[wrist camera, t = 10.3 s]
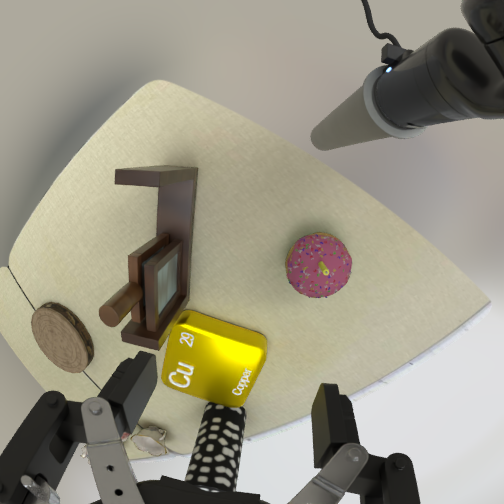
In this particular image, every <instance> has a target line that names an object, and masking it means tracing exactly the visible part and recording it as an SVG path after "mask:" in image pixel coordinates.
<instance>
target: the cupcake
mask: <svg viewBox="0 0 504 504" xmlns="http://www.w3.org/2000/svg"><path fill="white" fill-rule="evenodd" d="M285 266H286V271H287V278H288V280H289V283H290V284H292V286H293V287H294V288H295V290H296V291H298V292H299V293H300V294H304V295H306V296H308V297H313V298H321V297H326V298H327V296H329V295H332V294H334V293H336V292H337V291H339V290H340V289H341V288H342V287H343V286H344V285H345V284H346V283H347V281H348V279H349V276H350V274H351V273H350V272H351V266H352V259H351V256H350V255H349V253H348V251H347V249H346V247H345V246H344V244H343V243H342V242H341V241H340V240H339V239H338V238H336V237H335V236H333V235H331V234H327V233H322V232H317V233H313V234H310V235H306V236H304V237H302V238H300V239H299V240H298V241H297V242H296V243H295V244H294V245H293V246H292V247H291V249H290V251H289V253H288V256H287V258H286V262H285Z"/></svg>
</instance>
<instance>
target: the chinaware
mask: <svg viewBox="0 0 504 504" xmlns="http://www.w3.org/2000/svg"><path fill="white" fill-rule="evenodd" d="M164 431H165V430H161V429H158V428H157V427H154V426H149V428H146V429H142V430H141V431H139V432H138V433H137V434H136V435H134V436H132V437H131V441H133V442H135V446H136V447H137V448H138V449H139V450H141V451H146V452H147V451H148V452H149V453H150V454H151V455H154V456H160V455H161V454H166V453H167V451H166V449H165V441H164V437H165V436H166V431H165V432H164ZM162 432H164V435H163V436H162V435H161V433H162ZM129 435H130V434H128V433H126V432H124V433H123V435H122V437H121V439H122V442H124V441H126V440H127V439H128V437H129ZM86 445H87V444H86ZM86 445H85V446H84V447H82V451H83V454H82V455H81V457H82V458H85V457H87V458H88V459H89V456H88V452H87V447H86ZM88 463H89V464H90V460H88ZM90 465H91V464H90Z"/></svg>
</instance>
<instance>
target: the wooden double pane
mask: <svg viewBox="0 0 504 504" xmlns="http://www.w3.org/2000/svg"><path fill="white" fill-rule="evenodd" d="M197 172H198V168H194V167H180V166H165V165H164V166H149V167H136V168H124V169H116V170H115V184H119V185H134V186H148V187H159V191H158V208H157V233H156V236H158V235H159V234H161V233H164V234H169V245H167V246H166V247H165V248H164V249H162V250H161V251H160V252H159V253H158V254H156V255H155V256H154V257H153V258H152V259H150V260H149V261H148V262H147V263H146V264H144V279H145V305H146V316H145V318H144V319H143V320H142V322H141V323H138V322H133V321H132V319H131V320H130V321H129V322H128V324H127V325H126V326H125V327H124V328H123V330H122V331H121V337H122V341H123V342H126V343H130V344H134V345H138V346H142V347H145V348H149V349H154V350H158V351H159V350H160V348H161V347H162V345H163V343H164V342H165V340H166V338H167V337H168V335H169V333H170V331H171V330H172V328H173V326H174V325H175V323H176V321H177V320H178V318H179V316H180V315H181V313H182V311H183V310H184V308H185V306H186V305H187V303H188V301H189V293H190V268H191V249H192V233H193V219H194V206H195V194H196V183H197Z"/></svg>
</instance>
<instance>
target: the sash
mask: <svg viewBox="0 0 504 504" xmlns="http://www.w3.org/2000/svg"><path fill="white" fill-rule="evenodd" d="M167 245H169V234H164V233H161V234H159V235H158V236H156V237H155V238H153V239H152V240H150V241H149V242H147V243H146V244H144V245H143V246H141V247H140V248H138V249H137V250H136V251H134V252H133V253H131V254H130V255H128V269H129V282H128V283H127V284H126V285H124V286H123V287H122V288H121V289H120V290H119V291H118V292H117V293H116V294H114V295H113V296H112V297H111V298H110V299H109V300H108V301H107V302H106V303H105V304H103V305H102V306H101V307H100V309H99V316H100V319H101V320H102V321H103V323H104V324H106V325H107V326H110V327H115V326H117V325H118V324H119V323H120V322H121V321H122V319H123V318H124V317H125V316H126V315H127V314H128V313H129V312H130V311H131V317H132V321H133V322H138V323H141V322H142V320H143V319H144V318H145V316H146V305H145V279H144V264H146V263H147V262H148V261H149V260H150V259H152V258H153V257H154V256H155V255H156V254H158V253H159V252H160V251H161V250H162V249H164V248H165V247H166V246H167Z"/></svg>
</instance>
